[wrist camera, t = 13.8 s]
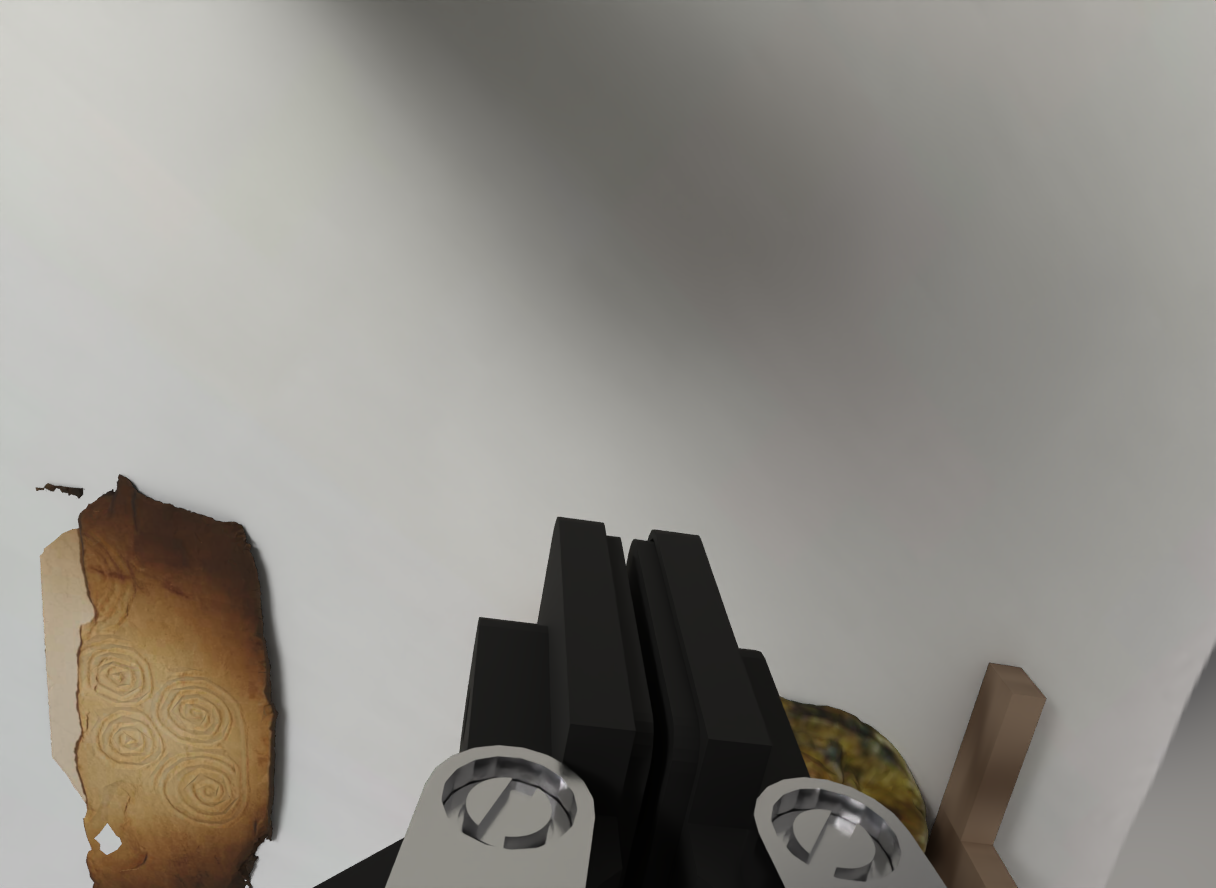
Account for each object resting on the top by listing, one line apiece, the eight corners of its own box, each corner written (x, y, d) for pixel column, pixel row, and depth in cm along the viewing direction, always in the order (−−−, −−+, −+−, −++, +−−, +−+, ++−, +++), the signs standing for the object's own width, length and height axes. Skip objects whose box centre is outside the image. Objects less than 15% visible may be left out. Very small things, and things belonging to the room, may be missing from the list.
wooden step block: (553, 595, 44) (551, 686, 37) (1021, 667, 46) (1102, 766, 39) (495, 891, 48) (484, 1021, 41) (923, 944, 50) (980, 1076, 43)
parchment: (37, 467, 41) (26, 475, 40) (286, 493, 42) (280, 502, 41) (66, 954, 49) (57, 968, 48) (274, 970, 49) (269, 985, 49)
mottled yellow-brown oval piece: (589, 838, 49) (896, 854, 50) (589, 920, 45) (925, 937, 46) (606, 679, 45) (940, 700, 46) (609, 753, 41) (976, 775, 42)
